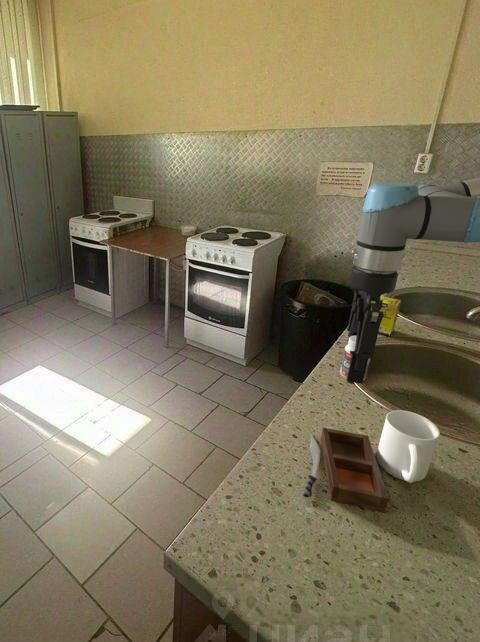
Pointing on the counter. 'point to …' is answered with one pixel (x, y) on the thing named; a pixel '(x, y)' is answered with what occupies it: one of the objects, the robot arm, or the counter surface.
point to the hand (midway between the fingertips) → (352, 374)
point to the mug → (407, 445)
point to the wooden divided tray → (352, 470)
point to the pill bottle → (347, 357)
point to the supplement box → (389, 314)
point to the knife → (316, 458)
